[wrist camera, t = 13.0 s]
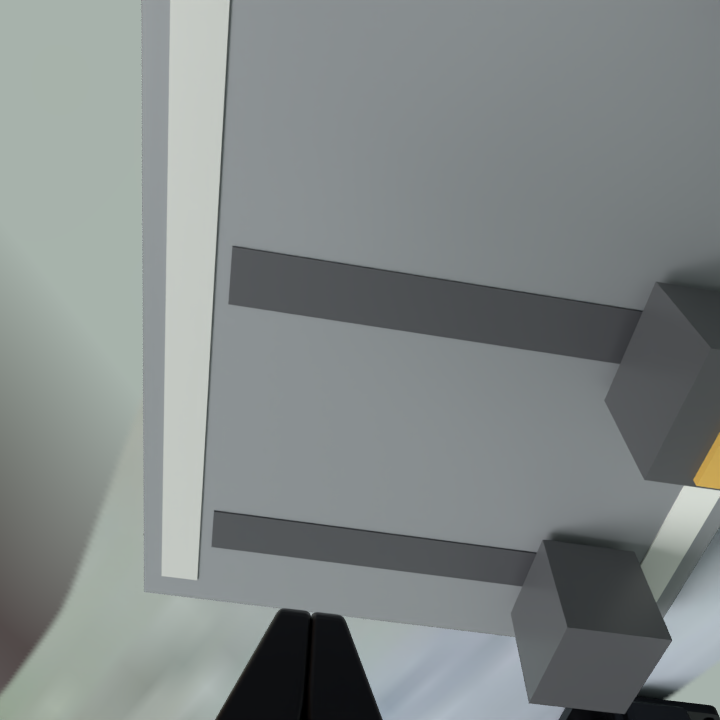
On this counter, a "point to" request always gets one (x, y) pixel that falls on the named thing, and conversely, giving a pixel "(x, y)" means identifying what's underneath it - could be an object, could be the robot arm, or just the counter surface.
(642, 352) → the handle
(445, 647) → the counter surface
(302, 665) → the robot arm
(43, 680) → the counter surface
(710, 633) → the counter surface
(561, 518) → the panel
